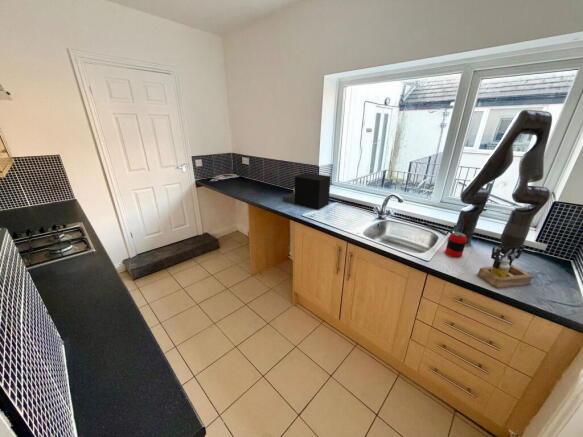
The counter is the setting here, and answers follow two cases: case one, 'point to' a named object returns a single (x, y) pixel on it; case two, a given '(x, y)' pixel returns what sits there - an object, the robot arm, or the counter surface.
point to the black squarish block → (310, 191)
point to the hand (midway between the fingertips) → (501, 267)
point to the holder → (511, 279)
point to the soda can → (456, 244)
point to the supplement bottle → (502, 268)
